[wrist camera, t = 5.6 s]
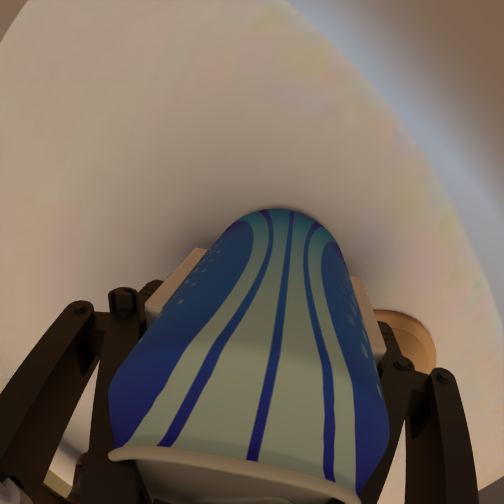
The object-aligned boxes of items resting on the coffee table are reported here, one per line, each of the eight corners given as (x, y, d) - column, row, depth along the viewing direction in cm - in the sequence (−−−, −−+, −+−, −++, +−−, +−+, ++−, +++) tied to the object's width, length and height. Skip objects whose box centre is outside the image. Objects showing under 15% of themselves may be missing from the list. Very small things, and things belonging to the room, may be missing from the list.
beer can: (322, 330, 21) (325, 554, 6) (210, 306, 22) (106, 506, 7) (356, 220, 18) (480, 449, 3) (225, 192, 19) (22, 356, 4)
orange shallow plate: (280, 408, 25) (279, 417, 24) (313, 298, 20) (314, 306, 19) (397, 418, 24) (399, 426, 23) (455, 319, 19) (460, 327, 18)
